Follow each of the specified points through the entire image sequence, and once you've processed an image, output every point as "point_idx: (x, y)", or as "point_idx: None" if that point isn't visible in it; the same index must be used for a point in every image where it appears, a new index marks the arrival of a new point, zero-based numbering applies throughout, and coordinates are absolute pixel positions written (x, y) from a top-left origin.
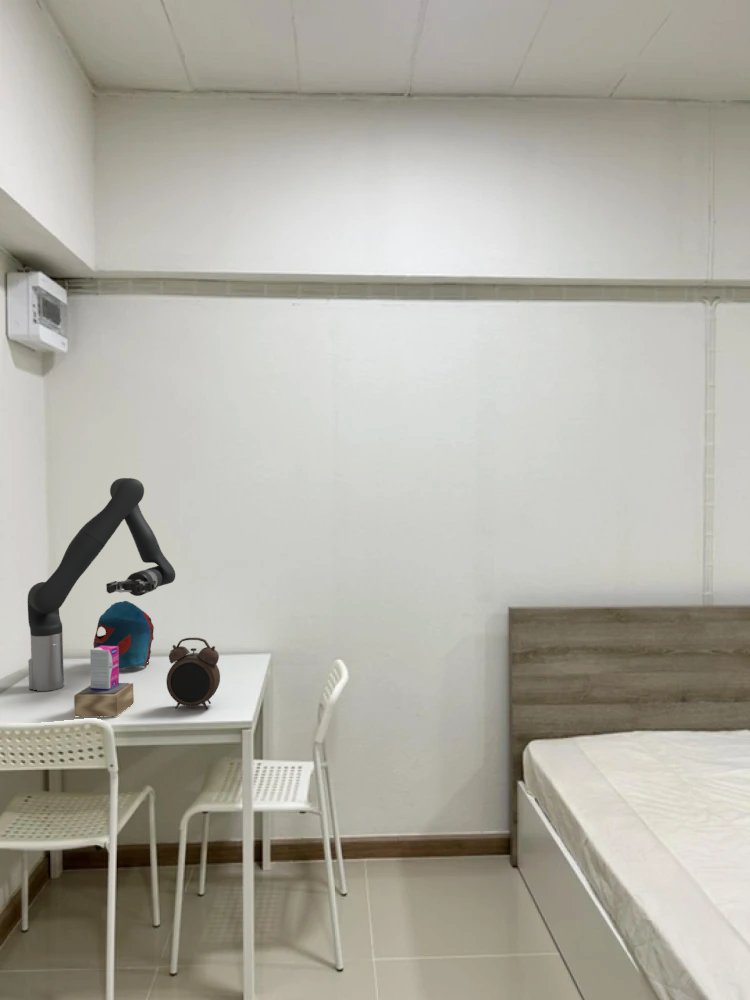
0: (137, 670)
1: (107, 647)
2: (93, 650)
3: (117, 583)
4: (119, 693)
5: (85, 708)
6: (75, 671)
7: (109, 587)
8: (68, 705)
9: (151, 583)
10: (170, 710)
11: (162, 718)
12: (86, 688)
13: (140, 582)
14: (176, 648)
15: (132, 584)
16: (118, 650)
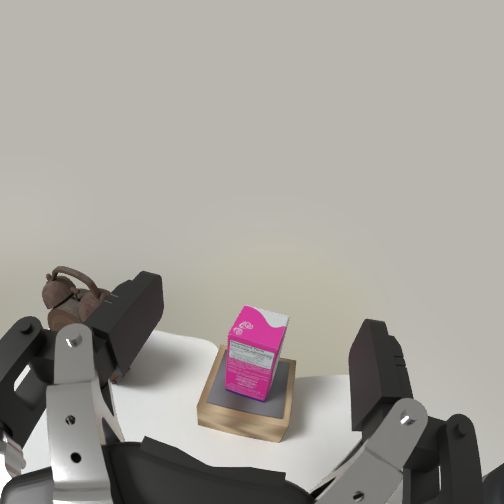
0: None
1: (254, 326)
2: (281, 314)
3: (385, 450)
4: (217, 353)
5: None
6: None
7: (368, 321)
8: (323, 440)
9: (19, 320)
10: (137, 370)
11: (153, 343)
12: (286, 385)
13: (83, 380)
14: (102, 292)
15: (184, 456)
16: (228, 340)
